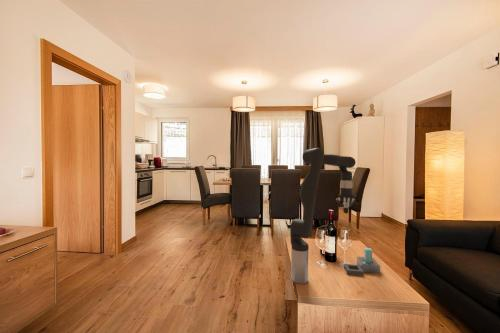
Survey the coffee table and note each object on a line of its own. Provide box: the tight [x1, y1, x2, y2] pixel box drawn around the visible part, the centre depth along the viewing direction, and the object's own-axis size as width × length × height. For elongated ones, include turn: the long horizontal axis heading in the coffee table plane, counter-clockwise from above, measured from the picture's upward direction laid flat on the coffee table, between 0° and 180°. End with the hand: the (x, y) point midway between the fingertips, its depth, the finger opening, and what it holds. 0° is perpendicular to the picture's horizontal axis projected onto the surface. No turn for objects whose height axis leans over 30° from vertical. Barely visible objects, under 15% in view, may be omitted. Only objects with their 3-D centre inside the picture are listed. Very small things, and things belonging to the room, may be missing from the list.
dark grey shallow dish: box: [343, 263, 365, 277], centre depth 144 cm, size 9×9×2 cm
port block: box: [356, 256, 381, 274], centre depth 149 cm, size 12×10×5 cm
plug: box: [363, 247, 373, 263], centre depth 149 cm, size 4×4×12 cm
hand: (345, 213), depth 158 cm, fingers closed
